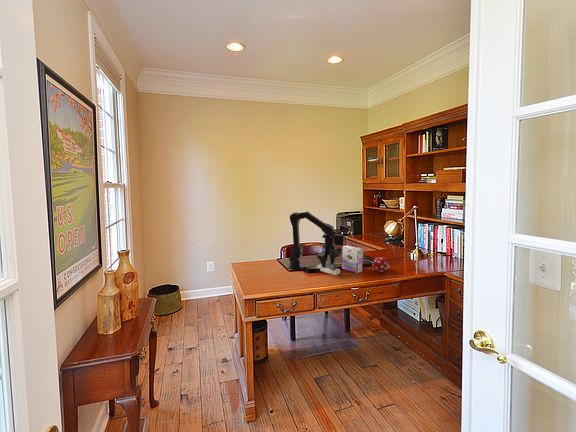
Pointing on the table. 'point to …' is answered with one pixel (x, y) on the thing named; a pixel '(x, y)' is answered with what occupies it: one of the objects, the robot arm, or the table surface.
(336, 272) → the rail
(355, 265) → the candy box
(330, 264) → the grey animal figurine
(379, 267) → the decorative mushroom
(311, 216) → the robot arm
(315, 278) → the table surface
